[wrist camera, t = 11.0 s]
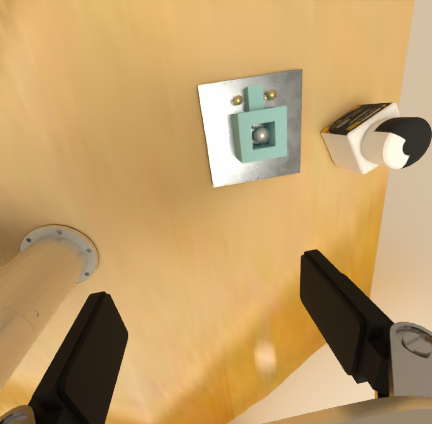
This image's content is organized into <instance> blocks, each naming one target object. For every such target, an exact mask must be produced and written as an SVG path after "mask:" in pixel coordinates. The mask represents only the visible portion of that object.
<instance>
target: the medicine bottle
mask: <svg viewBox="0 0 432 424" xmlns="http://www.w3.org/2000/svg"><path fill="white" fill-rule="evenodd" d="M321 135H322V137H323V140H324V142H325V144H326V146H327V149H328V151H329V153H330V155H331V158H332V160H333V162H334V164H335V165H336V166H338V167H341V168H345V169H348V170H351V171H354V172H357V173H360V174H366V173H368V172H369V171H371V170H372V169H374V168H375V167H377V166H378V165H382V166H386V167H390V168H394V169H400V168H405V167H407V166H410V165H412V164H413V163H415V162H416V161H418V160H419V159H420V158H421V157H422V156H423V155H424V153H425V152H426V150H427V149H428V147H429V144H430V142H431V138H432V131H431V127H430V125H429V124H428V123H427V121H426V120H424V119H422V118H419V117H400V115H399V111H398V107H397V104H396V103H394V102H392V103H379V104H366V105H358V106H356V107H355V108H353V109H352V110H351V111H349V112H348V113H346V114H345V115H343V116H342V117H341V118H339V119H338V120H336V121H335V122H333V123H332V124H331V125H329V126H328V127H326V128H325V129H324V130H322V131H321Z"/></svg>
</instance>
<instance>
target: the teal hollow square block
mask: <svg viewBox="0 0 432 424" xmlns="http://www.w3.org/2000/svg"><path fill="white" fill-rule="evenodd" d="M244 100H245V112H242V113H236V114H231V119H232V128H233V138H234V147H235V156H236V158H237V159H238V160H239V161H240V162H241V163H242V164H244V163H250V162H256V161H261V160H267V159H273V158H279V157H284V156H287V106H279V107H272V108H266V109H264V102H263V84H260V85H254V86H248V87H246V88H244ZM260 123H263V128H267V129H268V130H269V131H270V139H269V140H268V141H267V142H266V143H258V144H252V132H251V125H254V124H260Z"/></svg>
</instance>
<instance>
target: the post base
mask: <svg viewBox="0 0 432 424" xmlns="http://www.w3.org/2000/svg"><path fill="white" fill-rule="evenodd" d="M260 84H263V102H264V109H266V108H272V107H279V106H287V156H284V157H279V158H273V159H267V160H261V161H256V162H250V163H244V164H242V163H241V162H240V161H239V160H238V159H237V158H236V156H235V147H234V138H233V128H232V119H231V114H236V113H242V112H245V100H244V88H246V87H248V86H254V85H260ZM198 93H199V99H200V106H201V112H202V118H203V125H204V131H205V137H206V144H207V150H208V156H209V163H210V169H211V175H212V182H213V186H214V187H219V186H225V185H231V184H236V183H242V182H248V181H254V180H259V179H265V178H271V177H277V176H282V175H288V174H294V173H300V153H301V108H302V69H300V70H293V71H287V72H280V73H274V74H267V75H261V76H255V77H248V78H242V79H235V80H229V81H222V82H216V83H210V84H203V85H198ZM251 132H252V144H258V143H266V142H267V141H268V140H269V139H270V131H269V130H268V129H267V128H263V123H260V124H254V125H251Z"/></svg>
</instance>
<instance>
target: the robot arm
mask: <svg viewBox="0 0 432 424" xmlns="http://www.w3.org/2000/svg"><path fill="white" fill-rule="evenodd" d="M98 260H99V258H98V252H97V250H96V247H95V246H94V244H93V243H92V242H91V241H90V240H89V238H87V237H86V236H85V235H84V234H82V233H80V232H79V231H77V230H75V229H72V228H69V227H66V226H61V225H46V226H42V227H39V228H37V229H35V230H33V231H32V232H30V233H29V234H27V235H26V236H25V237H24V239H23V241H22V243H21V246H20V253H19V254H18V255H17V256H15V257H14V258H13V259H12V260H10V261H9V262H8V263H7V264H5V265H4V266H3V267H1V268H0V393H1V391H2V389H3V388H4V386H5V385H6V383H7V382H8V380H9V378H10V377H11V375H12V374H13V372H14V371H15V369H16V368H17V366H18V365H19V363H20V362H21V361H22V359H23V358H24V356H25V355H26V353H27V352H28V350H29V349H30V348H31V346H32V345H33V343H34V342H35V341H36V339H37V338H38V336H39V335H40V333H41V332H42V331H43V329H44V328H45V326H46V325H47V323H48V322H49V321H50V319H51V318H52V316H53V315H54V313H55V312H56V311H57V309H58V308H59V306H60V305H61V303H62V302H63V301H64V300H65V298H66V296H67V295H68V293H69V292H70V291H71V289H72V288H73V286H74V285H75V284H76V283H80V282H82V281H84V280H86V279H88V278H89V277H90V276H91V275H92V274H93V273H94V271H95V270H96V268H97V265H98ZM300 298H301V301H302V303H303V305H304V306H305V308H306V310H307V311H308V313H309V314H310V316H311V318H312V319H313V321H314V322H315V324H316V326H317V327H318V329H319V330H320V332H321V334H322V335H323V337H324V338H325V340H326V342H327V343H328V345H329V347H330V348H331V350H332V351H333V353H334V354H335V356H336V358H337V359H338V361H339V363H340V364H341V366H342V367H343V369H344V371H345V372H346V373H347V374H348V375H352V377H353V378H354V380H355V381H356V383H357V384H358V383H363V382H367V381H368V383H369V384H370V386H371V387H372V389H373V390H375V399H372V400H367V401H362V402H358V403H353V404H348V405H343V406H338V407H334V408H329V409H324V410H321V411H316V412H312V413H307V414H303V415H299V416H294V417H290V418H286V419H282V420H277V421H273V422H269V423H264V424H432V332H431V331H429V330H427V329H425V328H424V327H422V326H419V325H416V324H414V323H409V322H398V323H394V322H392V321H391V320H390V319H389V318H388V317H387V316H386V315H385V314H384V313H383V312H382V311H381V310H380V309H379V308H378V307H377V306H376V305H375V304H374V303H373V302H372V301H371V300H370V299H369V298H368V297H367V296H366V295H365V294H364V293H363V292H362V291H361V290H360V289H359V288H358V287H357V286H356V285H355V284H354V283H353V282H352V281H351V280H350V279H349V278H348V277H347V276H346V275H344V274H342V273H341V272H340V271H339V270H338V269H337V268H336V267H335V266H334V265H333V264H332V263H331V262H330V261H329V260H328V259H327V258H326V257H325V256H324V255H323V254H322V253H321V252H320V251H318V250H317V249H315V250H310V251H305V252H304V255H302V256H301V272H300ZM127 341H128V331H127V329H126V327H125V325H124V323H123V321H122V319H121V316H120V314H119V312H118V310H117V308H116V306H115V304H114V302H113V300H112V298H111V296H110V294H106V292H98V293H93V294H90V295H89V297H88V298H87V300H86V302H85V304H84V306H83V307H82V309H81V311H80V313H79V314H78V316H77V318H76V320H75V321H74V323H73V325H72V327H71V328H70V330H69V332H68V334H67V336H66V337H65V339H64V341H63V343H62V344H61V346H60V348H59V350H58V351H57V353H56V355H55V357H54V359H53V360H52V362H51V364H50V366H49V367H48V369H47V371H46V373H45V374H44V376H43V378H42V380H41V382H40V383H39V385H38V387H37V389H36V390H35V392H34V394H33V396H32V399H31V400H30V402H29V404H28V405H21V406H18V407H16V408H13V409H11V410H10V411H8V412H7V413H5V414H4V415H2V416H1V417H0V424H105V421H106V417H107V413H108V410H109V406H110V402H111V399H112V395H113V391H114V388H115V384H116V381H117V377H118V373H119V370H120V366H121V362H122V359H123V355H124V352H125V348H126V344H127Z"/></svg>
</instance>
